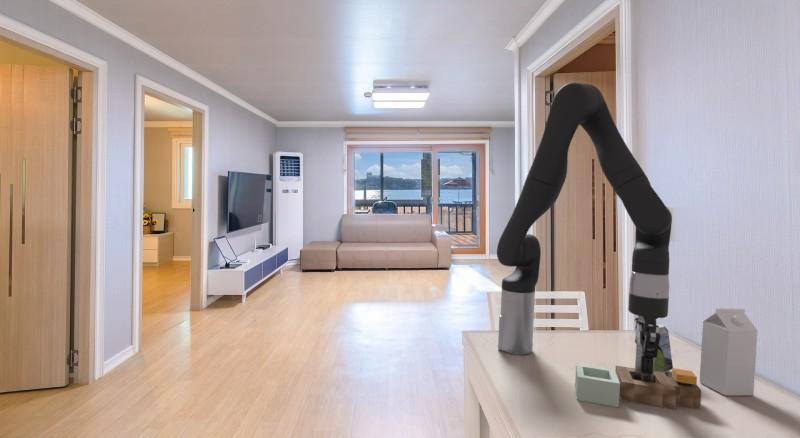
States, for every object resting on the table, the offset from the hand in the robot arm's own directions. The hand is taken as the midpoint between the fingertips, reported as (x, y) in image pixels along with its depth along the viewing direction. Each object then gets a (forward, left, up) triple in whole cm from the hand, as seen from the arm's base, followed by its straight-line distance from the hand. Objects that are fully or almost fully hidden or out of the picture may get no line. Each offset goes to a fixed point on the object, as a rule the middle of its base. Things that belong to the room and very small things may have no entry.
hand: (644, 369), depth 92 cm
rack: (-10, -5, -6) cm, 13 cm away
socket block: (+2, 0, -6) cm, 6 cm away
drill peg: (0, 0, -6) cm, 6 cm away
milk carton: (+19, +12, -6) cm, 23 cm away
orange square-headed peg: (+7, 0, -5) cm, 9 cm away
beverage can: (+6, +18, -6) cm, 20 cm away
